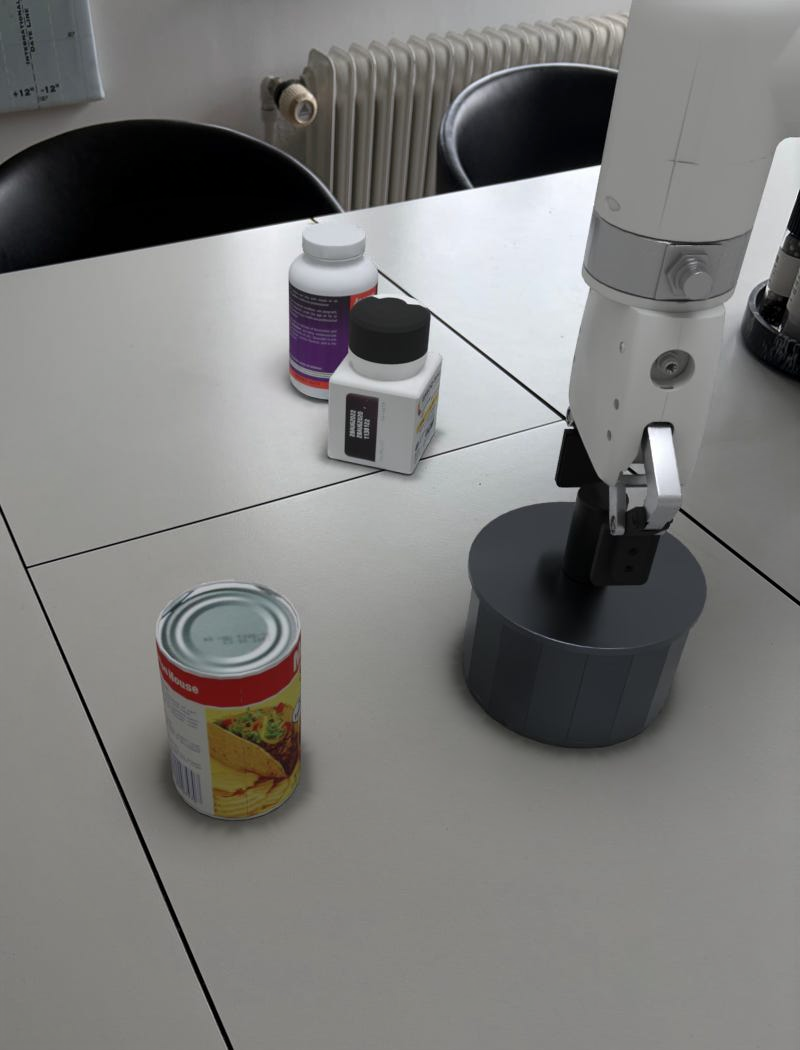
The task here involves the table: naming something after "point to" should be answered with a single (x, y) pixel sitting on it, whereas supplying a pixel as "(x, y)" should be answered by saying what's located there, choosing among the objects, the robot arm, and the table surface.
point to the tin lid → (580, 581)
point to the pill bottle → (325, 301)
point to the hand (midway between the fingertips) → (597, 531)
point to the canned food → (232, 696)
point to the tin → (563, 685)
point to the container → (385, 386)
